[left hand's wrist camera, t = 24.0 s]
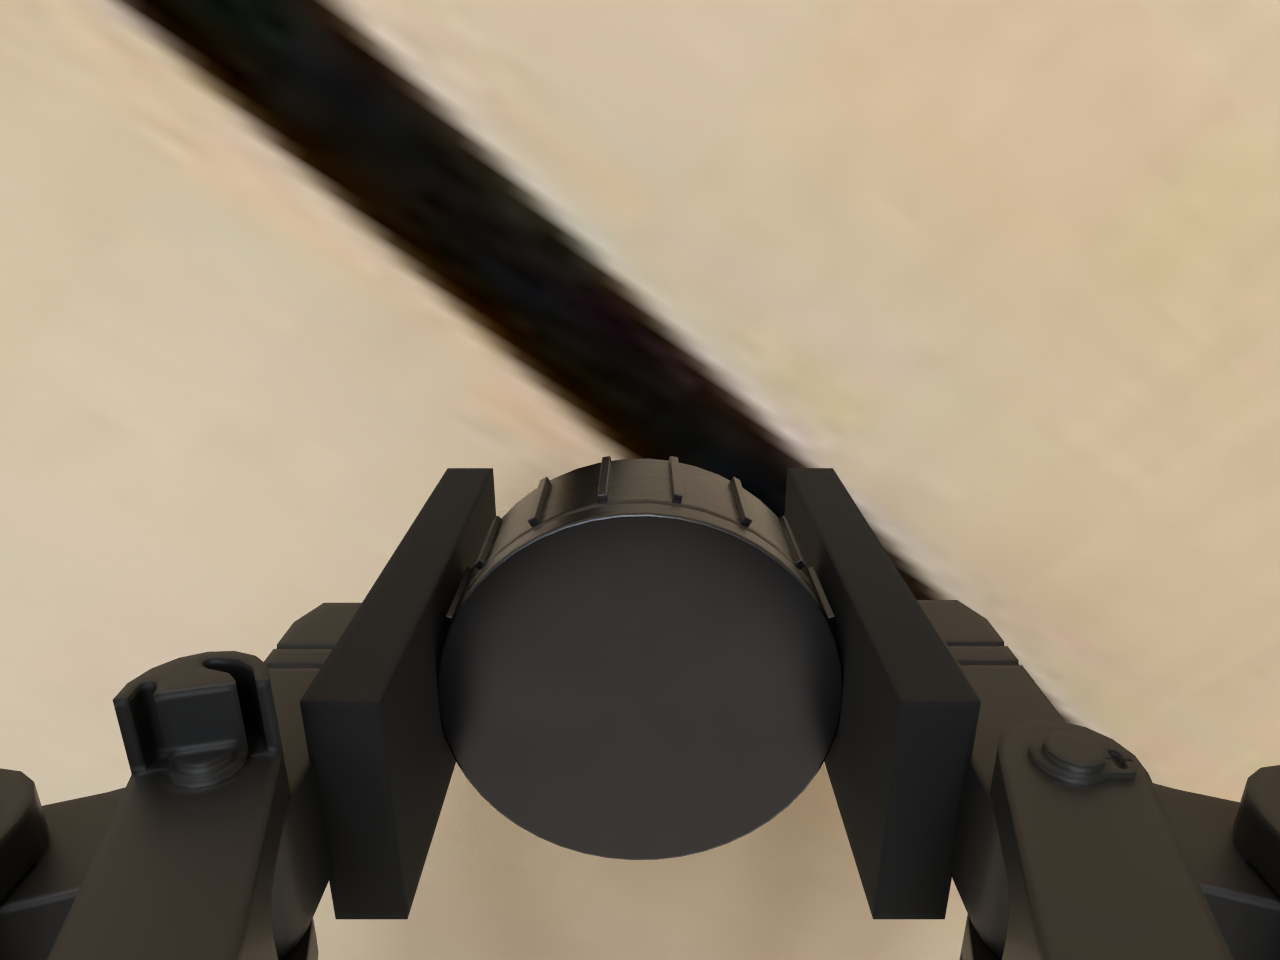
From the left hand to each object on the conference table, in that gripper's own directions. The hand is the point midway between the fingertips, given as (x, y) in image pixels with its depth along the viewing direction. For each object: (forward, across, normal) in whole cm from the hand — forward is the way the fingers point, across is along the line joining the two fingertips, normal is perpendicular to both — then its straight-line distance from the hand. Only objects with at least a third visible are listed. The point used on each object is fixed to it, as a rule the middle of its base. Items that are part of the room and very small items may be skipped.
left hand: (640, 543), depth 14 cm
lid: (-4, 0, 0) cm, 4 cm away
